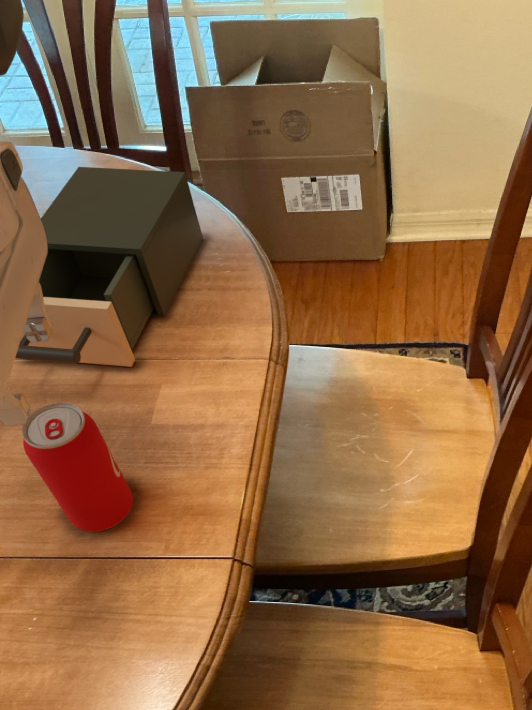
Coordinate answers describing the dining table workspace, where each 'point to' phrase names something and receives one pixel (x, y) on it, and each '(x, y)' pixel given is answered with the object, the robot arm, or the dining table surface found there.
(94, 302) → the drawer
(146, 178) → the cabinet
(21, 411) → the robot arm
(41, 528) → the dining table surface
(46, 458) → the beverage can
